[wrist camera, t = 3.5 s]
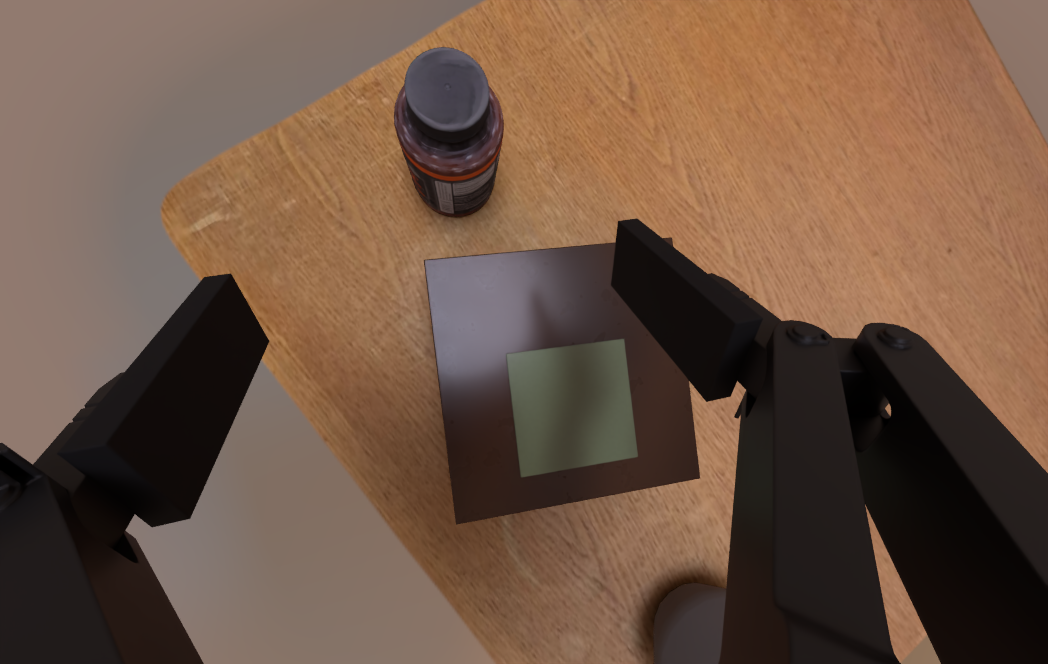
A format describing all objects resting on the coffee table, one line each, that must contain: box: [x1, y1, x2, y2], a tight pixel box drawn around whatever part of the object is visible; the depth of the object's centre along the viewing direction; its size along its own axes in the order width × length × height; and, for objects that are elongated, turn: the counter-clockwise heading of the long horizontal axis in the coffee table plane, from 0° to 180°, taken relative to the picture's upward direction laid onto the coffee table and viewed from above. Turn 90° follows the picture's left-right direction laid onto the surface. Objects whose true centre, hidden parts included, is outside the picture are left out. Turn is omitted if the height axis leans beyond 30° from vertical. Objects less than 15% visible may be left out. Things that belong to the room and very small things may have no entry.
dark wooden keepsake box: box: [424, 238, 700, 524], centre depth 27 cm, size 16×16×6 cm
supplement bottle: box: [394, 47, 504, 217], centre depth 24 cm, size 6×6×11 cm
